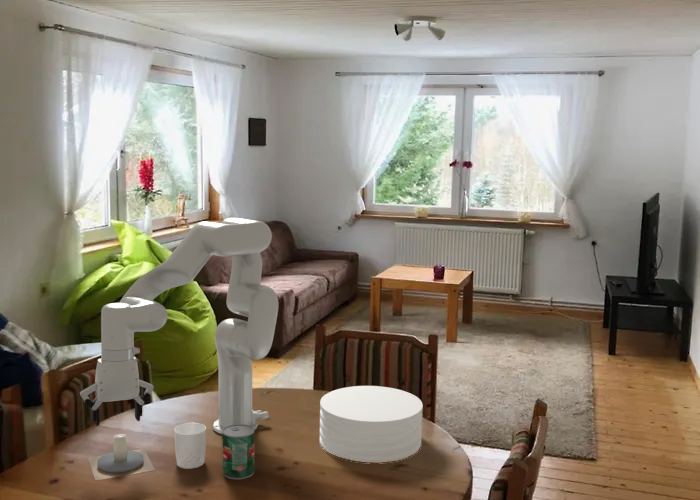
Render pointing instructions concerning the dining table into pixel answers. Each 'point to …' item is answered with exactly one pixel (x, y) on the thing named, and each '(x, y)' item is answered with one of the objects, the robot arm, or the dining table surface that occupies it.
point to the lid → (120, 458)
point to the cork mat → (101, 475)
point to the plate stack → (370, 423)
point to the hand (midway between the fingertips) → (117, 421)
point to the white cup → (190, 445)
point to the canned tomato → (238, 451)
